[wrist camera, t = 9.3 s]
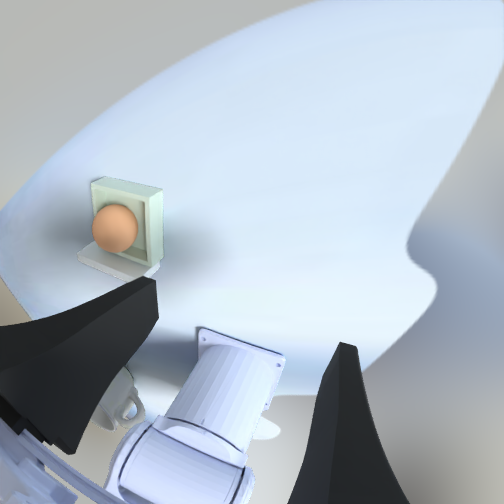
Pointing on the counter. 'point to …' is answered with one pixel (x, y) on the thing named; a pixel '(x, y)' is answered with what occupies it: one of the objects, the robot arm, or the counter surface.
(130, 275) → the wall
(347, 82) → the counter surface
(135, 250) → the tray
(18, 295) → the counter surface
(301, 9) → the counter surface
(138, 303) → the robot arm
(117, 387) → the teacup
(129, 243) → the ball
